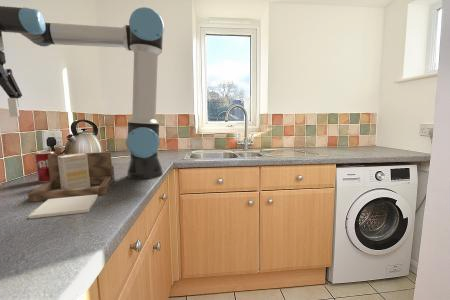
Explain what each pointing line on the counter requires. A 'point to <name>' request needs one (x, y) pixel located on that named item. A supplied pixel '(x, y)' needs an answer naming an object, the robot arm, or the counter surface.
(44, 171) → the soda can
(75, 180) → the supplement box
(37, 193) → the walnut case
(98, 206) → the counter surface
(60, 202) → the off-white pad
